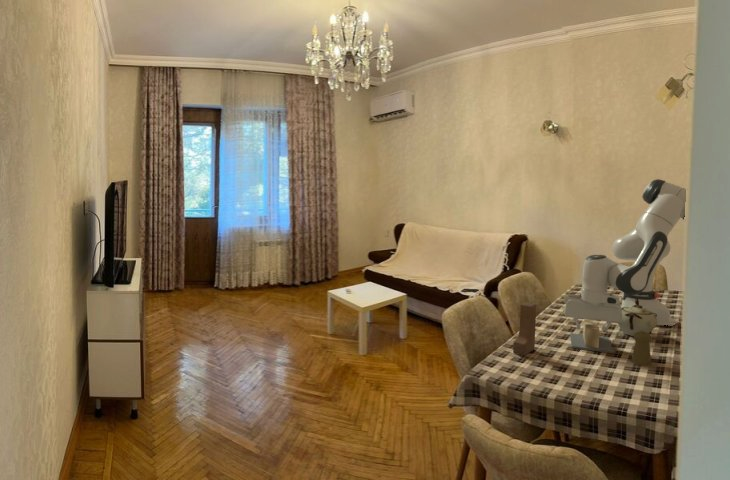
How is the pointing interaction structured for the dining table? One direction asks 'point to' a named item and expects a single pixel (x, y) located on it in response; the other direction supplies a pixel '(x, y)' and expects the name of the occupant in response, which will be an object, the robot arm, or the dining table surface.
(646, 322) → the sugar bowl
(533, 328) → the wooden block
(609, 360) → the dining table surface
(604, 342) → the grey mat
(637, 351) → the olive peg figure
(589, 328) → the pine block
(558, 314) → the dining table surface
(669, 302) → the dining table surface
